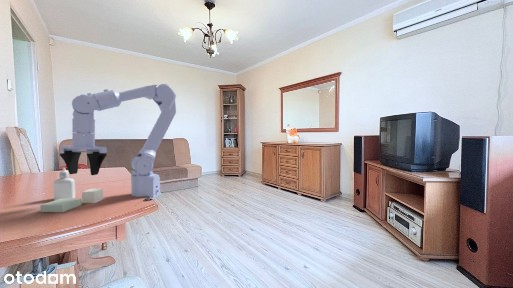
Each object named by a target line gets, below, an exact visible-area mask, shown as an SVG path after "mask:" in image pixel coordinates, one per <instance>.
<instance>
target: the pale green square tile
mask: <svg viewBox="0 0 513 288" xmlns="http://www.w3.org/2000/svg"><path fill="white" fill-rule="evenodd" d="M81 204H82V205H80V206H77V207H75V208H72V209H69V210H67V211H64V212H41V210H39V211H37V212H36V213H35V214H65V213H68V212H70V211H73V210H75V209H77V208H79V207H82V206H85V205H86V203H81Z"/></svg>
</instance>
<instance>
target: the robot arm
mask: <svg viewBox="0 0 513 288" xmlns="http://www.w3.org/2000/svg"><path fill="white" fill-rule="evenodd" d="M176 96H177V94H176V93H175V91H174V89H173V87H172V86H170V84H167V83H160V84H159V85H158V84H152V85H151V84H150V85H146V86H145V85H144V86H141V87H137V88H134V89H133V88H132V89H128V90H125V91H121V92H120V91H119V92H118V91H115V90H114V89H111V90H109V89H108V88H106V89H104V90H103V91H101V92H96V93H92V94H91V92H88V93H86V94H80V95H77V96H75V97H74V98H73V99H72V102H71V106H72V109H73V111H72V119H71V120H72V121H71V122H72V125H71V127H72V137H71V138H72V141H71V142H72V143H71V144H72V145H60V152H61V153H59V156H60V157H61V158H62V160H63V162H64V164H65V166H66V168H67V171H68V172H69V175H75V174H77V173H78V169H79V161H80V160H79V159H80V157H81V155H82V153H86V156H87V158H88V162H89V167H90V169H89V170H90V171H89V172H90V176H96V175H99V172H100V169H101V166H102V164H103V161H104V160H105V158H106V157H107V156H108V155H107V153H108V147H107V146H96V132H95V131H96V129H95V128H96V126H95V125H96V124H95V123H96V120H95V116H94V115H95V113H94V112H95V111H97V112H101V111H104V110H108V109H113V108H117V107H118V108H119V106H120V105H121V104H122V102H126V101H130V100H137V99H141V98H145V99H148V100H153V101H154V103H155V104H156V105H157V106H158V107H159V110H160V112H161V113H160V114H159V116H158V117H157V119H156V122H155V124H154V125H153V127H152V129H151V131H150V133H149V135H148V136H147V139H146V141H145V143H144V145H143V146H142V148H141V149H140V150H139V151H138V152H137V154H136V155H135V156H134V157H133V158H132V159H131V160H130V167H131V168H132V169H133V171H132V172H131V174H130V178H131V179H130V180H131V181H130V183H131V185H130V186H131V187H130V188H131V197H137V198H138V197H145V198H144V199H143V200H146V201H151V200H150V199H152V200H154V199H155V198H157V197H158V196H160V195H161V194H162V192H161V177H160V175H159V174H157V173H154V172H153V169H154V167H155V166H154V163H155V159H156V155H157V152H158V149H159V148H160V145H161V143H162V141H163V139H164V137H165V135H166V133H167V131H168V130H169V128H170V125H171V124H172V121H173V119H174V118H175V115H176V114H177V107H176V98H177V97H176ZM148 195H149V196H148ZM150 197H151V198H150Z"/></svg>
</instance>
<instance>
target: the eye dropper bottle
mask: <svg viewBox="0 0 513 288" xmlns="http://www.w3.org/2000/svg"><path fill="white" fill-rule="evenodd" d="M58 175H59V177H58V178H57V179H55V180H54V181H53V201H55V200H58V199H61V198H74V199H76V180H75V178H70V177H69V176H70V174H69V171H68V170H66V167H62V170H61V171H59V173H58Z"/></svg>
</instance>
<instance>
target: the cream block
mask: <svg viewBox="0 0 513 288" xmlns="http://www.w3.org/2000/svg"><path fill="white" fill-rule="evenodd" d="M102 200H104V189H103V188H89V189H86V190H84V191H83V190H82V191H81V204H95V203H98V202H100V201H102Z"/></svg>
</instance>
